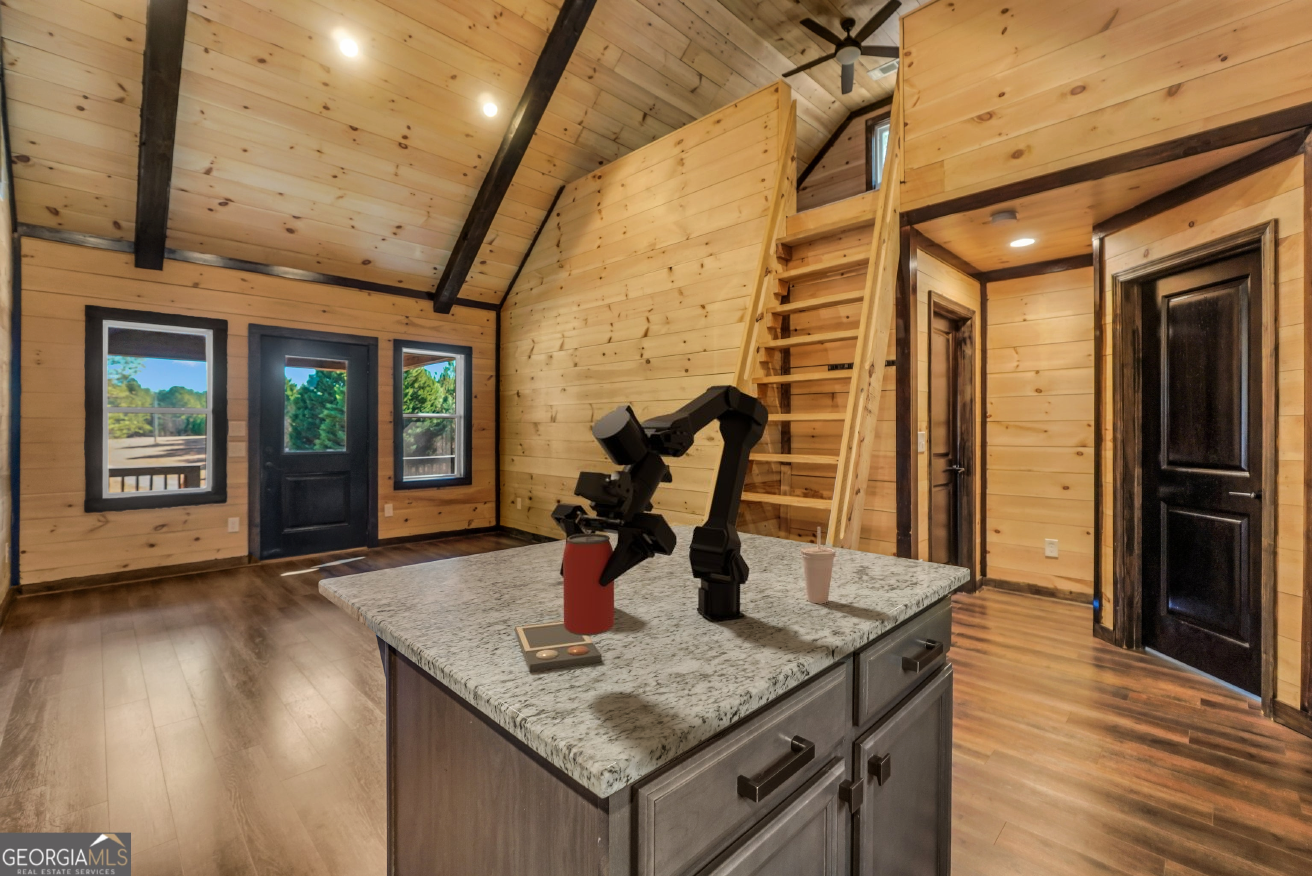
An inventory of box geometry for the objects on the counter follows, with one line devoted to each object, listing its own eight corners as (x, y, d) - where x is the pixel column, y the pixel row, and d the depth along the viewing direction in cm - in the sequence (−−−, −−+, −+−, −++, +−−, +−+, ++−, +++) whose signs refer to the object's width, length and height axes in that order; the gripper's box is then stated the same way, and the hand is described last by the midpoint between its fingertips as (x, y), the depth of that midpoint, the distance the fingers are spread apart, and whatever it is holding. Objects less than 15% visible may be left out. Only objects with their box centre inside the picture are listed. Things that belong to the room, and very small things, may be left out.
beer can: (593, 641, 73) (592, 544, 73) (553, 631, 77) (552, 539, 76) (624, 625, 79) (623, 535, 78) (585, 617, 82) (584, 530, 82)
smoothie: (839, 599, 113) (839, 526, 113) (829, 608, 108) (830, 531, 107) (806, 594, 117) (807, 523, 116) (795, 602, 111) (796, 528, 111)
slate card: (576, 625, 98) (576, 618, 98) (601, 661, 83) (601, 653, 83) (515, 632, 95) (514, 625, 95) (529, 671, 80) (529, 663, 80)
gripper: (559, 447, 86) (498, 535, 77) (663, 451, 74) (605, 554, 66) (597, 496, 92) (544, 582, 84) (697, 506, 81) (648, 606, 72)
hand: (581, 580), depth 76 cm, fingers closed on beer can, 7 cm apart
